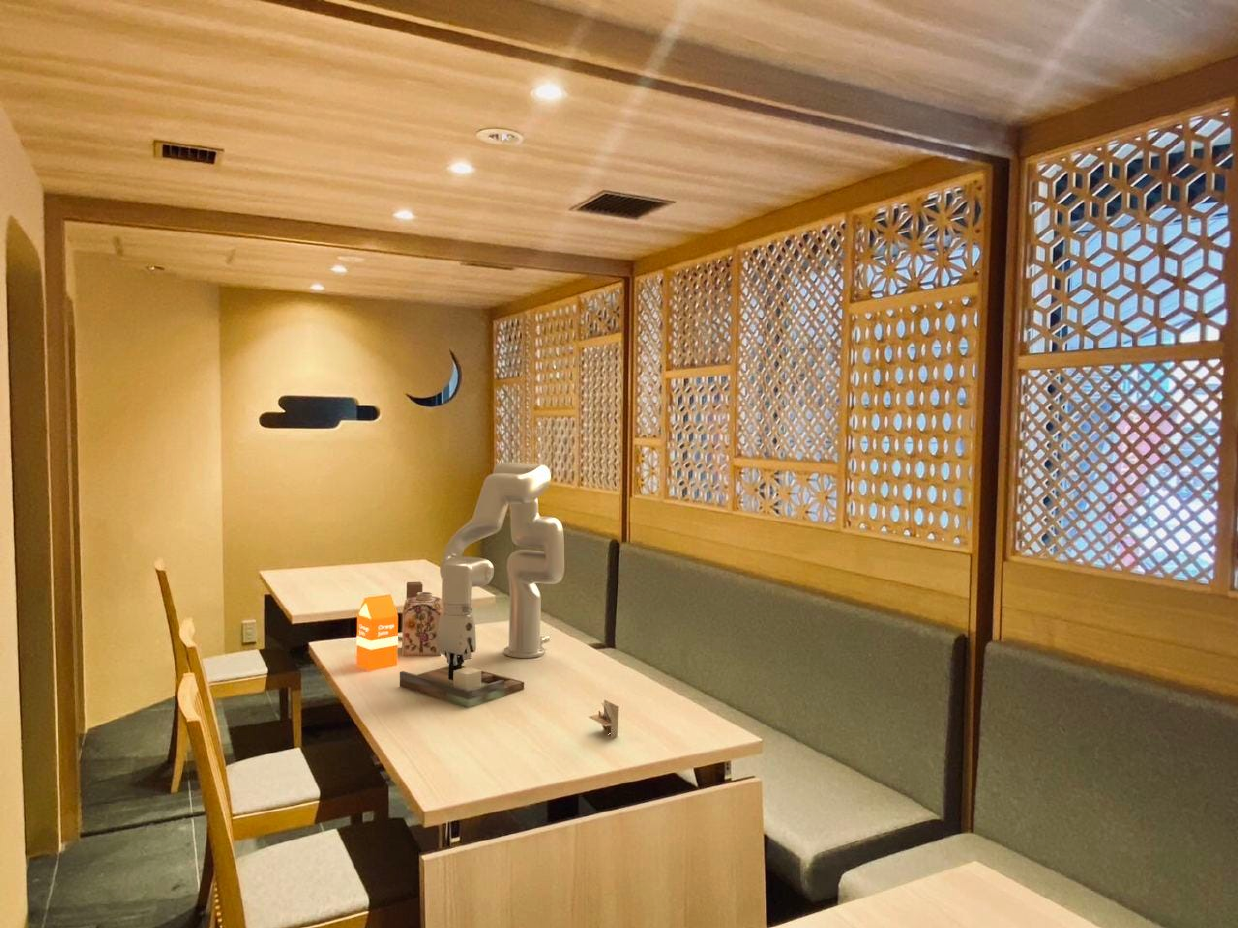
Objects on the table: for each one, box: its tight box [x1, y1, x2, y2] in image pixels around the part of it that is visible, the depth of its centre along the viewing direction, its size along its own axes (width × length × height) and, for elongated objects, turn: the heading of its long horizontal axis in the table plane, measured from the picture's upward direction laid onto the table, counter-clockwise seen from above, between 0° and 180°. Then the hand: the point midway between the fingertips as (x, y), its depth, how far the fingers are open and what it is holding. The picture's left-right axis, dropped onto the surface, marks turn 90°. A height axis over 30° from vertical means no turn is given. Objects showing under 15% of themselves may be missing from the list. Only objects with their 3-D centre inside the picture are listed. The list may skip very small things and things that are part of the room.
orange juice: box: [355, 593, 399, 672], centre depth 252 cm, size 8×9×20 cm
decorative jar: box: [401, 591, 442, 657], centre depth 268 cm, size 12×12×18 cm
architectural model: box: [589, 699, 620, 738], centre depth 201 cm, size 3×7×7 cm, turn 35°
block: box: [453, 666, 482, 690], centre depth 226 cm, size 5×5×4 cm
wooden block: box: [406, 581, 424, 600], centre depth 285 cm, size 9×4×18 cm, turn 111°
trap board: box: [399, 665, 525, 709], centre depth 233 cm, size 20×26×4 cm
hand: (455, 678), depth 229 cm, fingers closed
